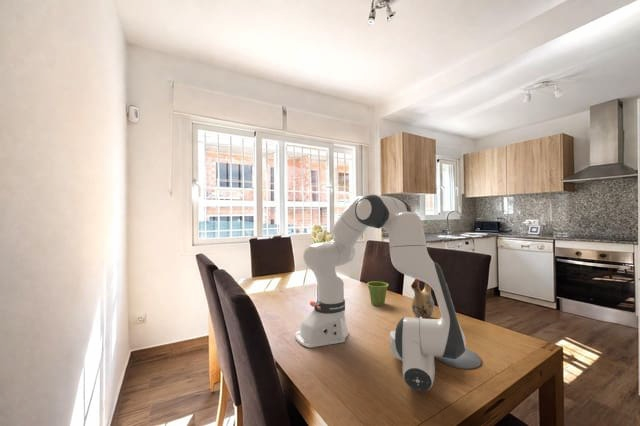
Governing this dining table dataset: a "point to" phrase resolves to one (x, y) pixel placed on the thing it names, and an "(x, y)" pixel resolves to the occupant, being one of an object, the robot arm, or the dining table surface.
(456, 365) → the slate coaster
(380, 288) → the plant pot
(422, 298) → the ceramic vessel
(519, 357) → the dining table surface
